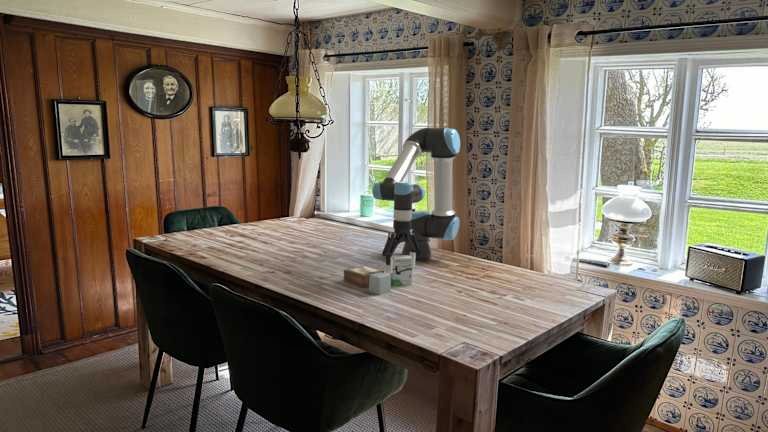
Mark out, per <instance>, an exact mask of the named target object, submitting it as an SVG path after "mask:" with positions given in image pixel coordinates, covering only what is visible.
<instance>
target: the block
mask: <svg viewBox="0 0 768 432" xmlns="http://www.w3.org/2000/svg"><path fill="white" fill-rule="evenodd" d="M368 288H369V290H368V292H370V293H373V294H375V295H378V296H383V295H385V294H388V293H391V292H392V291H391V288H392V285H391V275H390V273H387V272H384V273H382V272H378V273H374V274H370V278H369V287H368Z"/></svg>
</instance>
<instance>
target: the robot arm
mask: <svg viewBox="0 0 768 432" xmlns="http://www.w3.org/2000/svg"><path fill="white" fill-rule="evenodd" d="M460 149H461V138H460V133H458V131H457V130H456V129H455V128H448V127H423V128H420V129H418V130H416V131H414V132H413V133H412V134H411V135H409V136H408V137H407V138H406V140H405V141H404V143H403V144H402V149H401V151H400V153H399V155H398V156H397V158H396V160H395V161H394V162H393V164H392V165H391V168H390V169H389V171H388V173H387V174H386V176H385V177H384V179H383V180H382V182H375V183H374V184H373V186H372V193H371V194H372V197H373V198H374V199H375V200H379V201H387V202H393V224H392V226H393V227H392V228H393V229H394V231H393V232H388V234H387V240H386V242H385V244H384V248H383V250H382V253H381V255H382V256H383V257H384V258H385V267H386V269H385V270H386V272H385V273H387V274H390V273H392V266H393V257H391V256H392V255H393V254H394V252H395V251H396V249H397V248H398V246H399V245H400V244H401V243H404V245H403V247H402V250H401V255H410V256H411V257H412V258H413V268H412V269H415V268H416V261H423V260H425V261H426V260H430V259H431V258H432V250H431V247H430V243H429V240H430V239H437V240H443V241H452V240H454V239H455V238H456V237H457V234H458V231H459V228H460V218H459V216H456V211H455V210H454V209H453V161H454V159H456V157H457V154H459V152H460ZM424 153H430V158H431V159H432V160H433V162H434V163H433V164H434V168H433V170H434V178H433V179H434V187H433V188H434V189H433V190H434V200H433V201H434V206H433V207H434V208H433V210H432V211H431V212H430V210H416V211H413V204H415V203H419V202H421V201H423V199H425V196H426V191H425V188H424V187H423V186H422V185H421V184H413V183H412V181H411V182H410V181H404V179H405V178H406V176H407V175H408V173H409V171H410V170H411V168H412V166H413V164H414V163H415V162H416V159H417V158H419V157H420V156H421V155H422V154H424Z"/></svg>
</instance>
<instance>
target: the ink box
mask: <svg viewBox="0 0 768 432" xmlns="http://www.w3.org/2000/svg"><path fill="white" fill-rule="evenodd" d="M391 257H393V266H392V273H389V275H391V286H393V287H395V286H396V287H398V286H399V287H401V286H413V269H414V268H413V258H412V257H411V256H410V255H402V254H397V255H396V254H394V255H393V254H392V256H391Z"/></svg>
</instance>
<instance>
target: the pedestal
mask: <svg viewBox="0 0 768 432" xmlns="http://www.w3.org/2000/svg"><path fill="white" fill-rule="evenodd" d="M378 272H382V273H385V270H382V269H379V268H376V267H373V266H369V265H360V266H355V267H352V268H347V269H344V270H343V282H345V283H348V284H351V285H353V286H355V287H359V288H362V289H365V288H369V278H370V274H374V273H378Z"/></svg>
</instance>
